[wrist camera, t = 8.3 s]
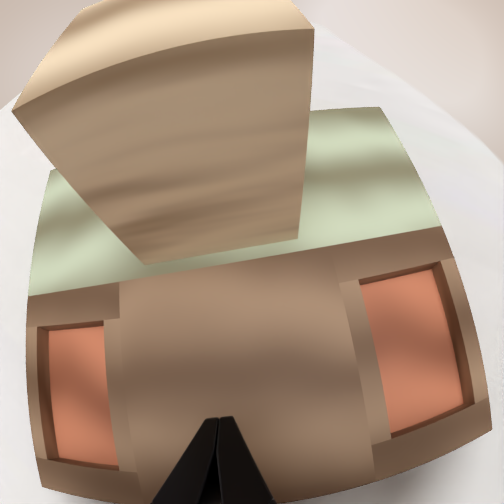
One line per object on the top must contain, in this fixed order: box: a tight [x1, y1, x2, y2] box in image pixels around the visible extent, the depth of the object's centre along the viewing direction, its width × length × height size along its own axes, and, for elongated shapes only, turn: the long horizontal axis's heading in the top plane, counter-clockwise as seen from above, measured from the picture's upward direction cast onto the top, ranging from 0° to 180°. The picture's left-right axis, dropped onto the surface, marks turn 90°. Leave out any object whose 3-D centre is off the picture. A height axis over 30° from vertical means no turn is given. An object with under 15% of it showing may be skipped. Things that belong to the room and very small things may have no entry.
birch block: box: [12, 0, 314, 265], centre depth 12 cm, size 8×8×11 cm
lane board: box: [26, 107, 492, 504], centre depth 16 cm, size 22×25×2 cm
